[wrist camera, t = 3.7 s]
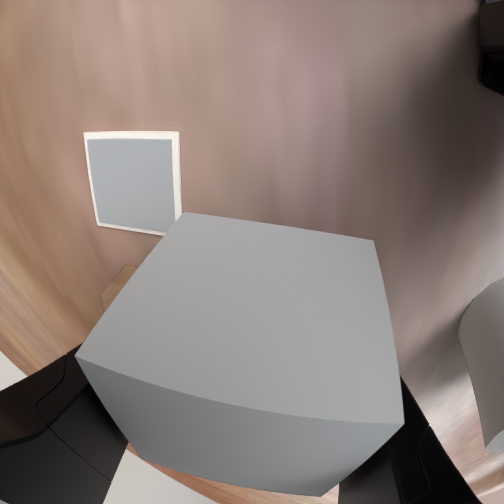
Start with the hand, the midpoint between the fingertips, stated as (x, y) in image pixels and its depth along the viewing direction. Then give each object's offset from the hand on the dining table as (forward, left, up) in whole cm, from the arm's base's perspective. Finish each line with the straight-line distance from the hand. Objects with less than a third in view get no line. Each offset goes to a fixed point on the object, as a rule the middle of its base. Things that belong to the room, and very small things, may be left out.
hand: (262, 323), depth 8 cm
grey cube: (0, 0, -1) cm, 1 cm away
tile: (+10, +1, -10) cm, 14 cm away
